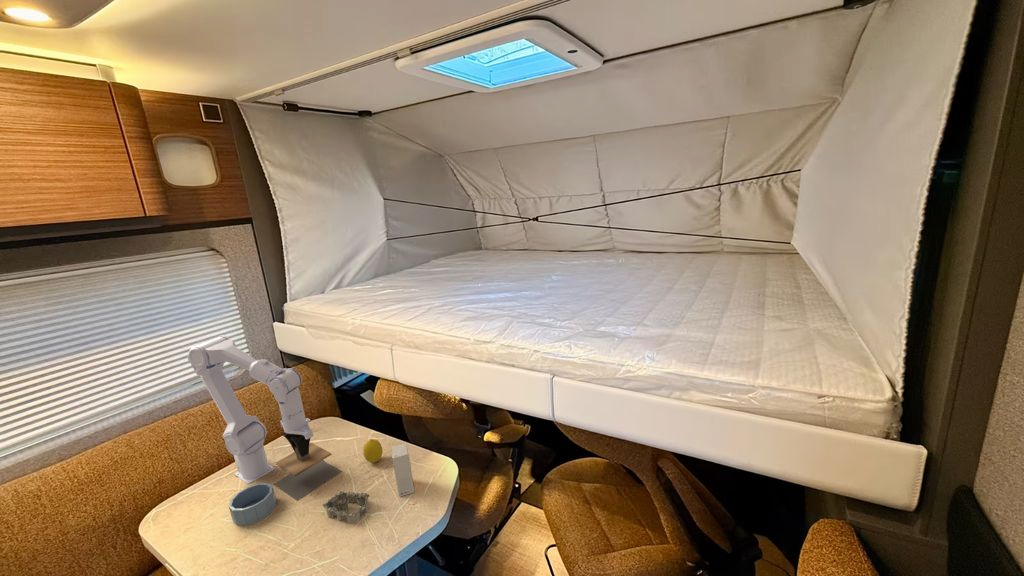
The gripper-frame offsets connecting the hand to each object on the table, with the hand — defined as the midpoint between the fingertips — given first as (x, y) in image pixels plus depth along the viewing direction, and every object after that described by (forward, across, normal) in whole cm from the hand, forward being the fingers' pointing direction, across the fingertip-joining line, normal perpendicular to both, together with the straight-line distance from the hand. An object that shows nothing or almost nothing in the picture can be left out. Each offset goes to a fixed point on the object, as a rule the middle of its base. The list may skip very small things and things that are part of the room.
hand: (302, 453), depth 123 cm
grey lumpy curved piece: (+9, -23, +2) cm, 25 cm away
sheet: (+2, 0, 0) cm, 2 cm away
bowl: (+9, 0, +15) cm, 17 cm away
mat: (+9, 0, 0) cm, 9 cm away
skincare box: (+9, -30, -12) cm, 34 cm away
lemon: (+9, -12, -15) cm, 21 cm away
